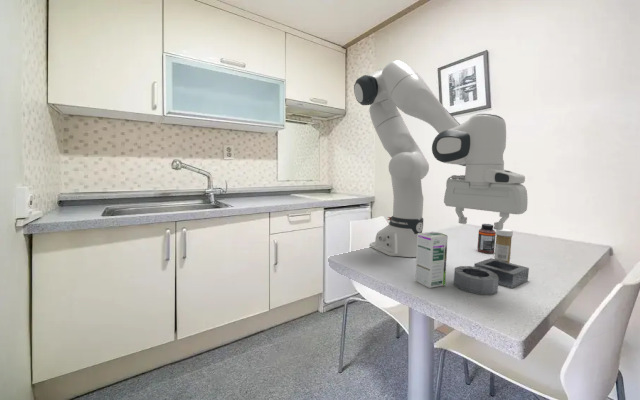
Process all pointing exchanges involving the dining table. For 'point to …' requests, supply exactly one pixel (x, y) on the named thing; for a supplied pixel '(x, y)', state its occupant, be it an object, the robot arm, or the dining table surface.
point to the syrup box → (431, 259)
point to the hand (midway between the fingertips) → (479, 226)
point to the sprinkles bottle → (503, 245)
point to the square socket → (505, 272)
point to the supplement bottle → (486, 239)
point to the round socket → (476, 280)
